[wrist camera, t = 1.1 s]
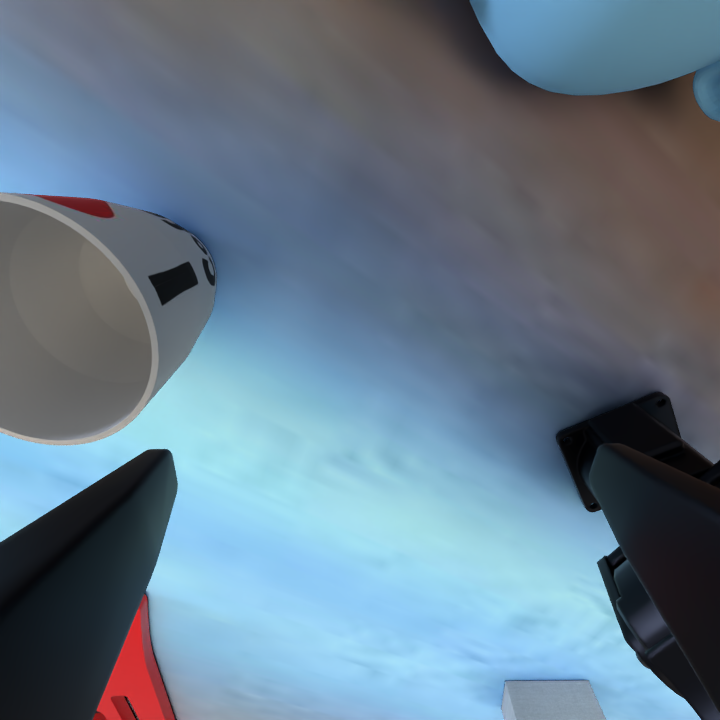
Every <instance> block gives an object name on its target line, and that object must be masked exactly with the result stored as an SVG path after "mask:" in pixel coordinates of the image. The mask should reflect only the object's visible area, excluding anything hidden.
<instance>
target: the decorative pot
mask: <svg viewBox="0 0 720 720" xmlns="http://www.w3.org/2000/svg"><path fill="white" fill-rule="evenodd" d="M469 1H470V3H471V5H472V8H473V10H474V12H475V14H476V17H477V19H478V21H479V23H480V25H481V27H482V28H483V30H484V32H485V34H486V35H487V37H488V39H489V41H490V42H491V44H492V46H493V48H494V49H495V51H496V53H497V54H498V55H499V56H500V58H501V59H502V60H503V61H504V62H505V63H506V64H507V65H508V67H509V68H510V69H511V70H512V71H513V72H514V73H516V74H517V75H519V76H520V77H521V78H523V79H524V80H526V81H527V82H528V83H531V84H533V85H535V86H537V87H540V88H542V89H544V90H547V91H550V92H556V93H562V94H569V95H604V94H611V93H618V92H625V91H632V90H636V89H640V88H644V87H648V86H652V85H657V84H661V83H663V82H666V81H669V80H672V79H675V78H678V77H681V76H684V75H687V74H689V73H692V72H694V71H696V73H695V76H694V80H693V92H694V96H695V99H696V101H697V103H698V105H699V107H700V108H701V109H702V111H703V112H704V113H705V115H707V116H708V117H709V118H710V119H713V120H716V121H720V0H469Z"/></svg>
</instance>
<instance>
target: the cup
mask: <svg viewBox="0 0 720 720" xmlns="http://www.w3.org/2000/svg"><path fill="white" fill-rule="evenodd" d="M216 283H217V275H216V269H215V265H214V262H213V259H212V257H211V255H210V253H209V252H208V250H207V249H206V247H205V246H204V245H203V243H202V242H201V241H200V240H199V239H198V238H197V237H195V236H194V235H193V234H192V233H190V232H189V231H187V230H185V229H184V228H182V227H180V226H179V225H177V224H176V223H174V222H172V221H171V220H169V219H167V218H165V217H163V216H160V215H158V214H155V213H152V212H148V211H144V210H140V209H136V208H131V207H127V206H123V205H119V204H115V203H111V202H107V201H102V200H98V199H91V198H78V197H62V196H47V195H32V194H17V193H1V192H0V432H1V433H4V434H7V435H9V436H12V437H15V438H18V439H22V440H26V441H30V442H34V443H40V444H47V445H78V444H85V443H90V442H94V441H97V440H100V439H103V438H106V437H108V436H110V435H112V434H114V433H116V432H118V431H120V430H121V429H123V428H124V427H125V426H127V425H128V424H129V423H130V422H131V421H133V420H134V419H135V418H136V417H137V415H138V414H139V413H140V412H141V411H142V410H143V408H144V407H145V406H146V405H147V404H148V403H149V401H150V400H151V399H152V398H153V397H154V396H155V394H156V393H157V392H158V391H159V390H160V389H161V387H162V386H163V385H164V384H165V383H166V382H167V380H168V379H169V378H170V377H171V376H172V375H173V373H174V372H175V371H176V370H177V369H178V368H179V366H180V365H181V364H182V363H183V362H184V361H185V359H186V358H187V357H188V355H189V353H190V352H191V350H192V348H193V346H194V345H195V343H196V341H197V339H198V337H199V335H200V334H201V332H202V330H203V328H204V326H205V325H206V323H207V321H208V319H209V317H210V315H211V312H212V309H213V305H214V299H215V291H216Z"/></svg>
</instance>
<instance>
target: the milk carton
mask: <svg viewBox="0 0 720 720" xmlns="http://www.w3.org/2000/svg"><path fill="white" fill-rule="evenodd" d="M501 709H502V713H503V717H504V720H606V718H605V716H604V714H603V711H602V709H601V707H600V705H599V703H598V700H597V698H596V696H595V694H594V691H593V689H592V687H591V685H590V683H589V680H576V681H505V687H504V693H503V700H502V707H501Z"/></svg>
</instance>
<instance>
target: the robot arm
mask: <svg viewBox="0 0 720 720" xmlns="http://www.w3.org/2000/svg"><path fill="white" fill-rule="evenodd" d="M660 399H661V401H660V402H659V403H657V401H658V400H660ZM656 403H657V404H656ZM567 437H569V438H568V439H567V440H566V441H563V440H564V439H565V438H567ZM556 441H557V443H558V446H559V448H560V451H561V453H562V455H563V458H564V460H565V463H566V465H567V467H568V470H569V472H570V474H571V477H572V479H573V482H574V484H575V486H576V489H577V491H578V493H579V496H580V498H581V501H582V503H583V505H584V506H585V508H586V509H587V511H589V512H596V511H599V510H601V509H602V510H603V512H604V515H605V517H606V519H607V521H608V523H609V525H610V527H611V529H612V531H613V533H614V535H615V538H616V540H617V542H618V544H619V545H620V546H619V547H618V548H617V549H615V550H614V551H613V552H612V553H611V554H610V555H609V556H604V557H603V558H602V559H600V560H599V561H598V562H597V564H598V567H599V570H600V572H601V575H602V578H603V581H604V584H605V587H606V589H607V592H608V595H609V598H610V601H611V603H612V606H613V609H614V612H615V615H616V617H617V620H618V623H619V625H620V628H621V630H622V633H623V636H624V638H625V640H626V642H627V643H628V645H629V646H630V647H631V648H632V649H633V650H634V651H635V652H636V656H637V658H638V660H639V661H640V662H641V663H642V664H643V665H644V666H645V667H646V668H648V669H651V671H652V672H653V673H654V674H655V675H656V676H657V677H658V678H659V679H660V680H661V681H662V682H663V683H664V684H665V685H667V686H668V687H669V688H670V689H671V690H673V691H674V692H675V693H676V694H678V695H679V696H681V697H683V698H684V699H685V700H686V701H687V702H688V703H689V704H690V705H691V707H692V708H693V709H694V710H695V712H696V713H697V714H698V716H699V717H700V718H701V720H720V460H719V461H718V462H717V463H716V464H715V465H714V464H713V463H712V462H710V461H709V460H708V459H707V458H705V457H704V456H703V455H702V454H700V453H699V452H698V451H696V450H695V449H694V448H693V447H691V446H690V445H689V444H688V443H686V442H685V441H684V440H683V439H681V436H680V432H679V429H678V425H677V422H676V418H675V415H674V412H673V408H672V405H671V401H670V399H669V397H668V396H666V395H665V394H663V393H661V392H657V393H653V394H651V395H648V396H646V397H644V398H641V399H639V400H636V401H634V402H631V403H629V404H626V405H624V406H622V407H619V408H617V409H614V410H612V411H609V412H607V413H605V414H602V415H600V416H597V417H595V418H592V419H590V420H587V421H585V422H583V423H580V424H578V425H575V426H573V427H570V428H568V429H566V430H563V431H561V432H559V433H558V434H557V436H556ZM177 487H178V483H177V477H176V471H175V466H174V461H173V456H172V453H171V452H170V451H169V450H168V449H150V450H147V451H145V452H143V453H142V454H140V455H138V456H137V457H135V458H134V459H132V460H131V461H129V462H127V463H126V464H124V465H123V466H121V467H119V468H118V469H116V470H115V471H113V472H111V473H110V474H108V475H107V476H105V477H104V478H102V479H100V480H99V481H97V482H96V483H94V484H92V485H91V486H89V487H88V488H86V489H84V490H83V491H81V492H80V493H78V494H77V495H75V496H73V497H72V498H70V499H69V500H67V501H65V502H64V503H62V504H61V505H59V506H57V507H56V508H54V509H53V510H51V511H50V512H48V513H46V514H45V515H43V516H42V517H40V518H38V519H37V520H35V521H34V522H32V523H30V524H29V525H27V526H26V527H24V528H22V529H21V530H19V531H18V532H16V533H15V534H13V535H11V536H10V537H8V538H7V539H5V540H3V541H2V542H0V720H93V718H94V715H95V713H96V710H97V708H98V705H99V703H100V701H101V698H102V696H103V693H104V691H105V688H106V686H107V684H108V681H109V679H110V676H111V674H112V671H113V669H114V666H115V664H116V662H117V659H118V657H119V654H120V652H121V649H122V647H123V645H124V642H125V640H126V637H127V635H128V632H129V630H130V627H131V625H132V623H133V620H134V618H135V615H136V613H137V610H138V608H139V605H140V603H141V601H142V598H143V596H144V593H145V591H146V588H147V586H148V584H149V581H150V579H151V576H152V573H153V571H154V568H155V566H156V563H157V559H158V556H159V553H160V550H161V546H162V543H163V539H164V536H165V532H166V529H167V525H168V522H169V518H170V515H171V511H172V508H173V504H174V501H175V497H176V494H177ZM592 503H593V504H592ZM591 504H592V505H591Z"/></svg>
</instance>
